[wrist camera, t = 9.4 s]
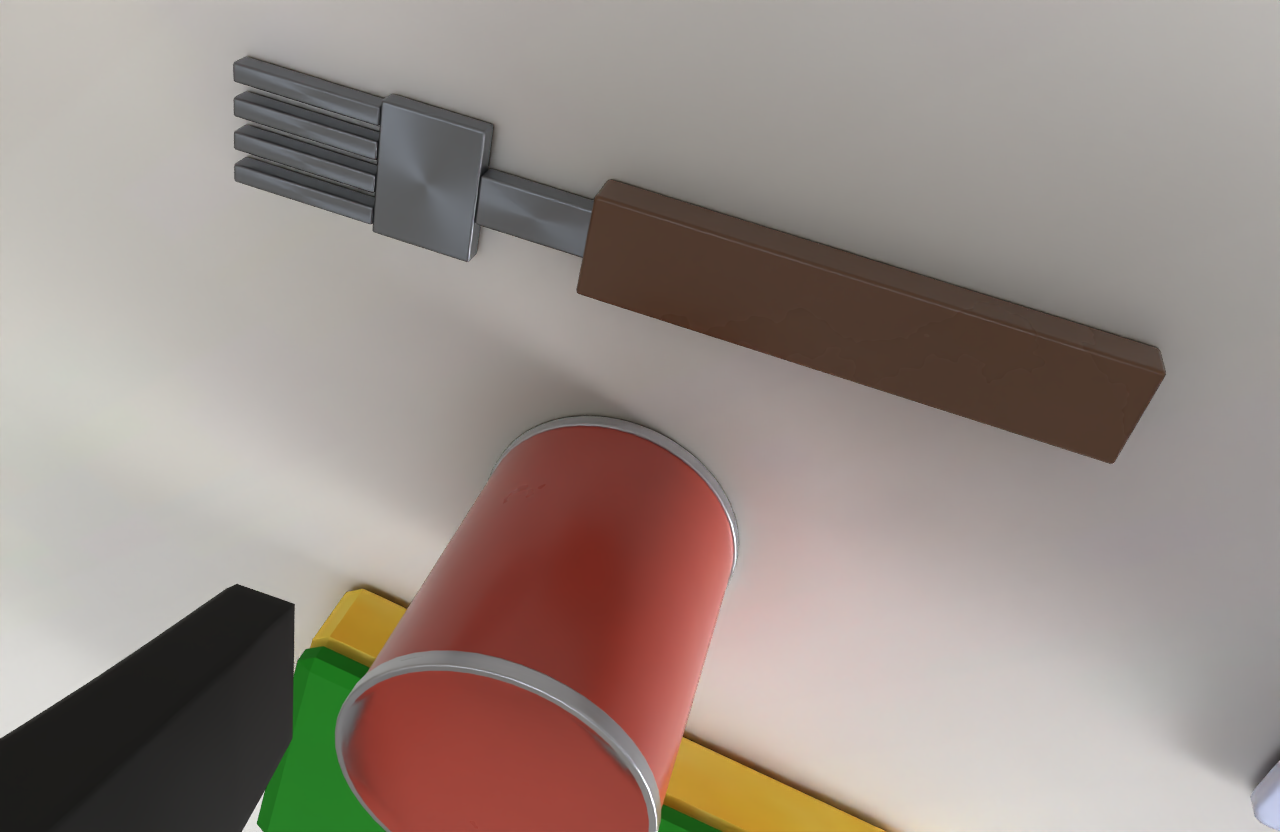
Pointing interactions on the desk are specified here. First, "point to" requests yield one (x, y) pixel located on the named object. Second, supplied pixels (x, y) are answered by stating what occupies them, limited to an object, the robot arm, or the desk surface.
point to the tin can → (549, 643)
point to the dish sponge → (341, 828)
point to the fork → (704, 268)
